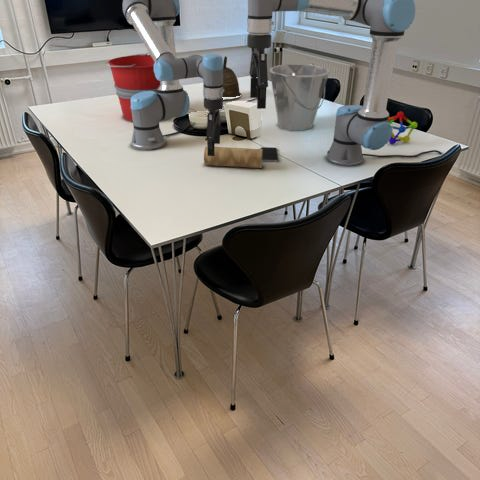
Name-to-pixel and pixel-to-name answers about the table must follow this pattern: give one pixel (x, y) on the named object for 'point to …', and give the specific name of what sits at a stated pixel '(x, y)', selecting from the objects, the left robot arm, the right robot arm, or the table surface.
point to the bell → (229, 82)
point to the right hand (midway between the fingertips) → (257, 102)
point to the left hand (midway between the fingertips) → (214, 149)
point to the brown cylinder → (234, 157)
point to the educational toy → (401, 128)
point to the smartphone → (269, 154)
